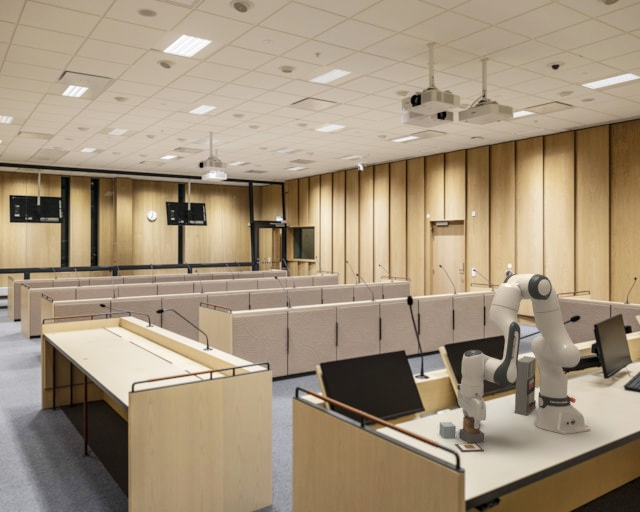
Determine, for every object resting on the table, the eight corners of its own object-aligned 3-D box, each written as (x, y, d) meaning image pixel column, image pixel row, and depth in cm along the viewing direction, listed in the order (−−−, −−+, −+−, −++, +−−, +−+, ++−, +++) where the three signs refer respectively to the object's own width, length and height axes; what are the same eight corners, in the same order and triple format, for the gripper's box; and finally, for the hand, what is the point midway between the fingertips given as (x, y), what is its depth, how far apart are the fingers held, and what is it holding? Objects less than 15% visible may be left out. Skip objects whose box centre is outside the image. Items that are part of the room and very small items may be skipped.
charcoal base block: (473, 436, 219) (473, 427, 219) (484, 443, 212) (484, 433, 212) (459, 438, 216) (459, 429, 216) (469, 445, 210) (470, 435, 210)
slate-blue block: (450, 433, 221) (451, 422, 221) (455, 438, 216) (455, 426, 216) (439, 434, 221) (439, 422, 220) (443, 438, 216) (444, 426, 215)
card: (476, 444, 210) (476, 442, 210) (484, 451, 203) (484, 449, 203) (454, 444, 209) (454, 443, 209) (461, 452, 202) (461, 450, 202)
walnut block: (474, 428, 217) (475, 416, 217) (479, 433, 212) (480, 420, 212) (463, 428, 217) (463, 416, 216) (467, 433, 212) (468, 421, 212)
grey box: (527, 416, 245) (529, 363, 245) (514, 413, 249) (516, 360, 248) (536, 408, 256) (537, 357, 256) (523, 406, 260) (524, 356, 259)
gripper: (490, 398, 204) (489, 433, 204) (469, 383, 224) (468, 415, 225) (475, 398, 203) (474, 433, 204) (455, 383, 223) (454, 415, 224)
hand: (471, 423), depth 214 cm, fingers open, 8 cm apart
